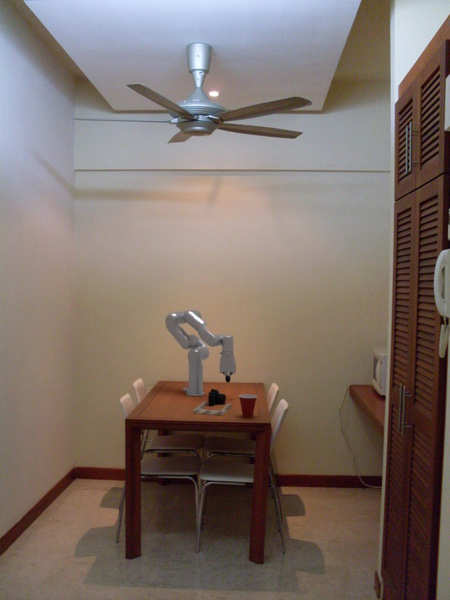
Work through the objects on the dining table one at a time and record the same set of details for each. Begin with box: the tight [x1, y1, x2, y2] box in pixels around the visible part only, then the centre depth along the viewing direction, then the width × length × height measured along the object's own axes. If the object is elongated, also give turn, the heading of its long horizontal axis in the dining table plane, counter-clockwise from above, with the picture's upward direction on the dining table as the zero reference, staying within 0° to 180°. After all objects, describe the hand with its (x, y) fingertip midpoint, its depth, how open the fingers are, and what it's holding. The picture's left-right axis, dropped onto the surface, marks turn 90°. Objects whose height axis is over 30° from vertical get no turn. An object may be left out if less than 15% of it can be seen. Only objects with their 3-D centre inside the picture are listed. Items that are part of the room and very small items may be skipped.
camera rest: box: [192, 400, 232, 416], centre depth 324 cm, size 17×22×2 cm
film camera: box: [207, 388, 227, 407], centre depth 340 cm, size 15×10×9 cm, turn 168°
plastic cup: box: [238, 394, 258, 418], centre depth 311 cm, size 11×11×12 cm
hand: (227, 382), depth 354 cm, fingers closed
